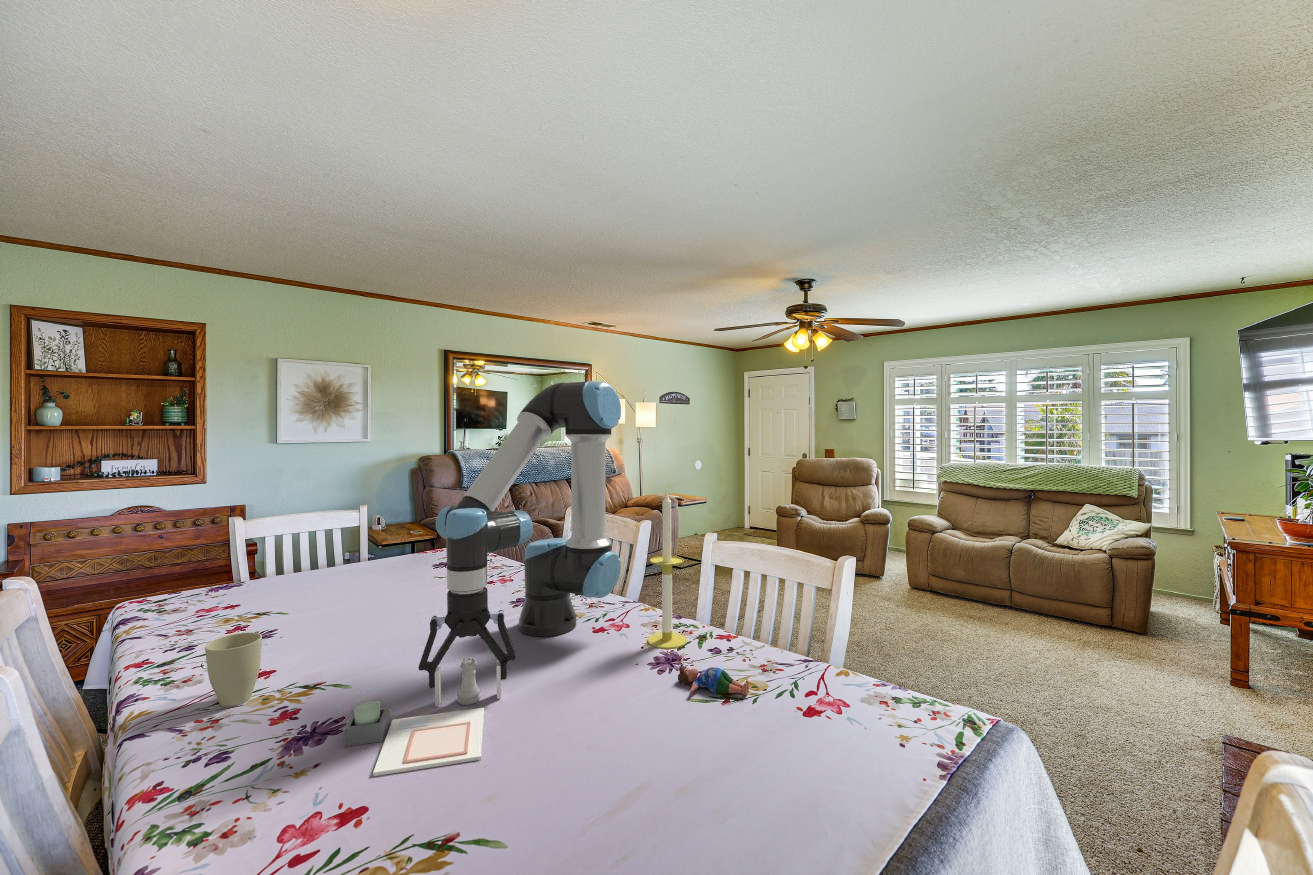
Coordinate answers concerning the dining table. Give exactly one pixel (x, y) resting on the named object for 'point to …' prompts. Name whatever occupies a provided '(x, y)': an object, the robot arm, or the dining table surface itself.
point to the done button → (367, 713)
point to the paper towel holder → (667, 587)
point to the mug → (234, 666)
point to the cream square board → (431, 741)
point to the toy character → (712, 681)
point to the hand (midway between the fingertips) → (468, 699)
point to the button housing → (366, 730)
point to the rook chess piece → (468, 683)
